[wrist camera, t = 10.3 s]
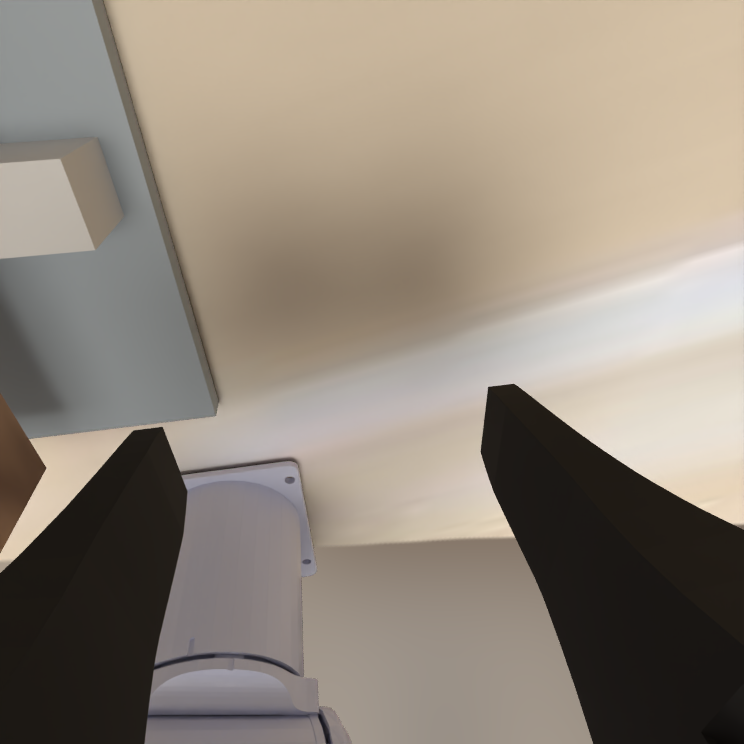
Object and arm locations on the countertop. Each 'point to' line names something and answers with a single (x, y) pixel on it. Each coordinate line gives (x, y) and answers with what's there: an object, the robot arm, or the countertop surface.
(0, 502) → the walnut batten
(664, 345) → the countertop surface
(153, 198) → the ridge board
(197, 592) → the robot arm
